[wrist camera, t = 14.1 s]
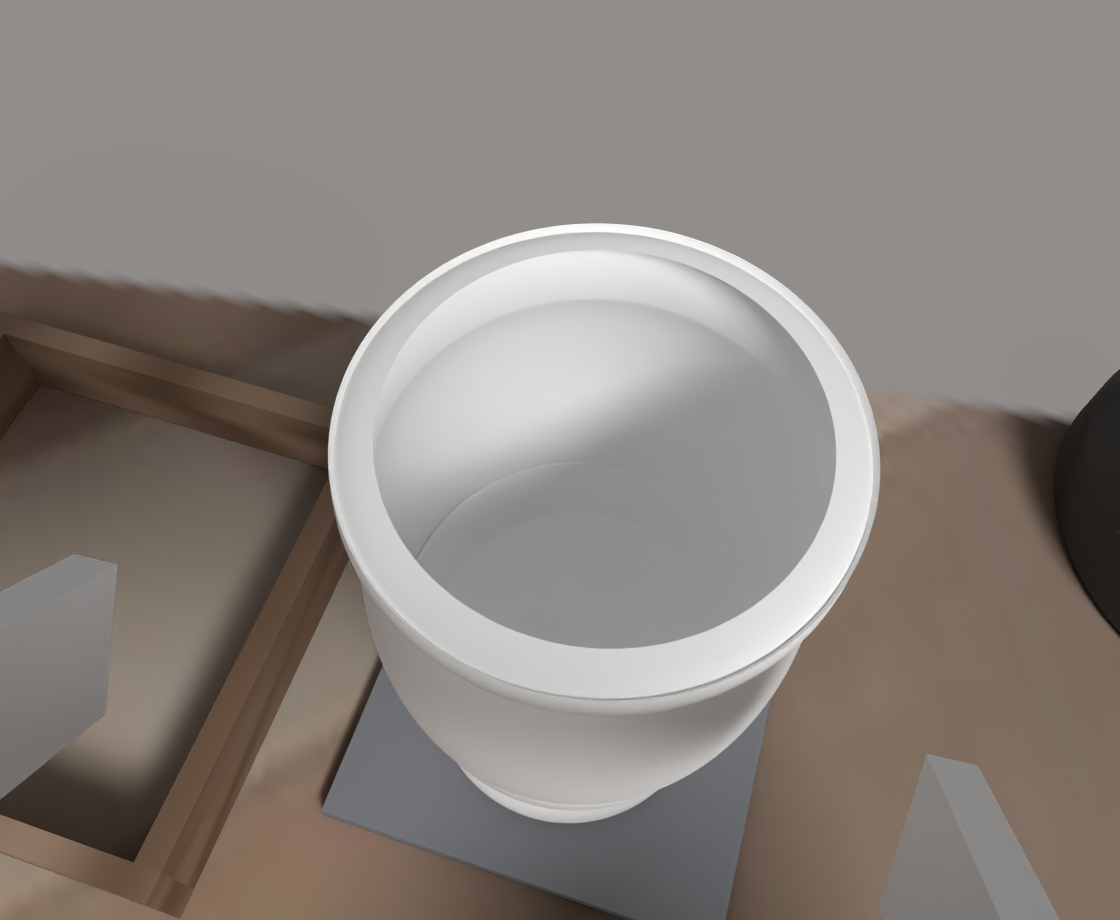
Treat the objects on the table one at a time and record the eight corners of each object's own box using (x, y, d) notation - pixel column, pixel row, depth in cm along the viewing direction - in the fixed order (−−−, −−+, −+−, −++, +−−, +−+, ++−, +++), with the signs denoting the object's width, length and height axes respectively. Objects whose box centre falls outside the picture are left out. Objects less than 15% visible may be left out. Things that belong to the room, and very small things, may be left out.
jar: (492, 492, 35) (477, 160, 22) (774, 603, 33) (938, 314, 20) (340, 775, 30) (205, 558, 17) (666, 926, 28) (794, 812, 15)
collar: (391, 467, 36) (382, 422, 33) (179, 918, 28) (145, 904, 25) (32, 361, 38) (-3, 310, 35) (-261, 757, 30) (-334, 729, 27)
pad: (792, 580, 34) (796, 572, 34) (716, 950, 28) (719, 948, 28) (464, 483, 36) (463, 474, 35) (324, 815, 30) (320, 811, 29)
